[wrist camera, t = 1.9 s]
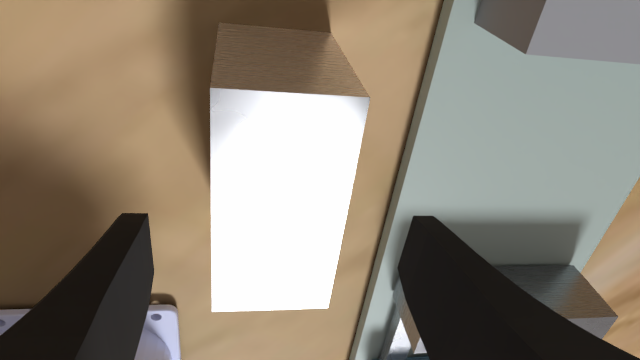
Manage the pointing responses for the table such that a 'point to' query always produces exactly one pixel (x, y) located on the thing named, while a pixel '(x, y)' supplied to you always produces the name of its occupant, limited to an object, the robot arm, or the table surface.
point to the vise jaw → (539, 281)
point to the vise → (516, 139)
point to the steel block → (280, 165)
